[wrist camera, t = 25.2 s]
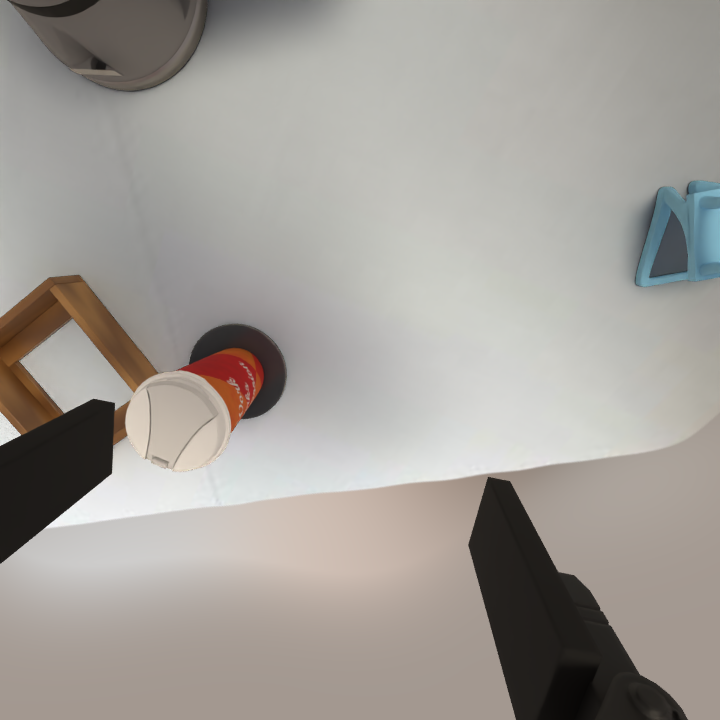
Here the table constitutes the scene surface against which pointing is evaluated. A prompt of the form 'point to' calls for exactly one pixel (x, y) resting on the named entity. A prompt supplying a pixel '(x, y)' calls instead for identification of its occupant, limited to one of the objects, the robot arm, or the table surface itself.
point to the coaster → (260, 349)
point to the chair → (686, 233)
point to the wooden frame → (39, 321)
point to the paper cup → (193, 409)
